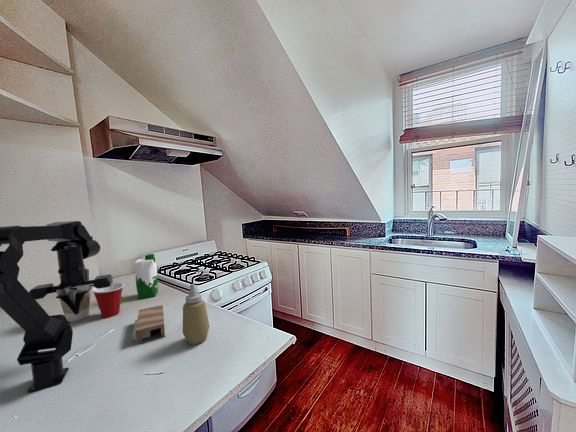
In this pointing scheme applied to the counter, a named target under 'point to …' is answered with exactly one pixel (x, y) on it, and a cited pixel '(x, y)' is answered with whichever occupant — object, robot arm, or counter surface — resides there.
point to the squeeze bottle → (195, 318)
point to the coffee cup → (83, 310)
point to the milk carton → (146, 277)
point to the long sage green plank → (144, 334)
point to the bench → (149, 321)
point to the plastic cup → (109, 299)
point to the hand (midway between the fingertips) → (77, 314)
